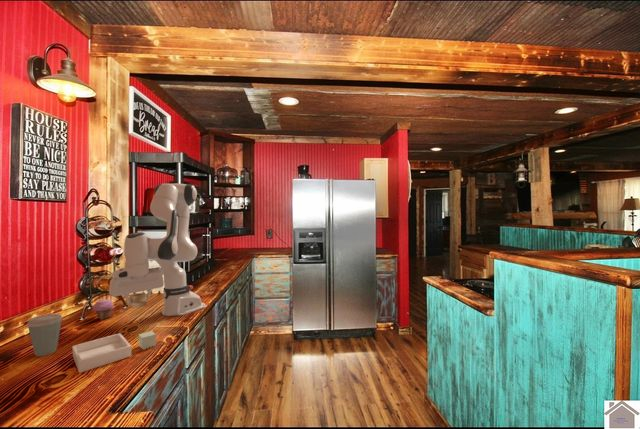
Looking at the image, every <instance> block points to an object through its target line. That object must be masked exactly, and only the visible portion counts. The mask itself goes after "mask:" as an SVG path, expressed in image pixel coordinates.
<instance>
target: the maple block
mask: <svg viewBox="0 0 640 429" xmlns="http://www.w3.org/2000/svg"><path fill="white" fill-rule="evenodd" d="M146 295H147V294H146V293H145V291H140V292H135V293H130V294H129V299H132V304H129V305H130V307H131V308H132V309H137V308H141V307H146V306H147V303H148V302H147V301H148V300H147V297H146Z"/></svg>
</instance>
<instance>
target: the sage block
mask: <svg viewBox="0 0 640 429" xmlns="http://www.w3.org/2000/svg"><path fill="white" fill-rule="evenodd" d="M155 345H156V346H157V334H156V333H155V332H154V331H153V330H150V331H147V332H142V333H140V334H138V347H139V348H140V347H141V348H142V349H144V350H147V349H150V348H153V347H152V346H154V347H156V346H155ZM149 347H150V348H149ZM141 348H140V349H141ZM146 348H147V349H146ZM142 349H141V350H142Z"/></svg>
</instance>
